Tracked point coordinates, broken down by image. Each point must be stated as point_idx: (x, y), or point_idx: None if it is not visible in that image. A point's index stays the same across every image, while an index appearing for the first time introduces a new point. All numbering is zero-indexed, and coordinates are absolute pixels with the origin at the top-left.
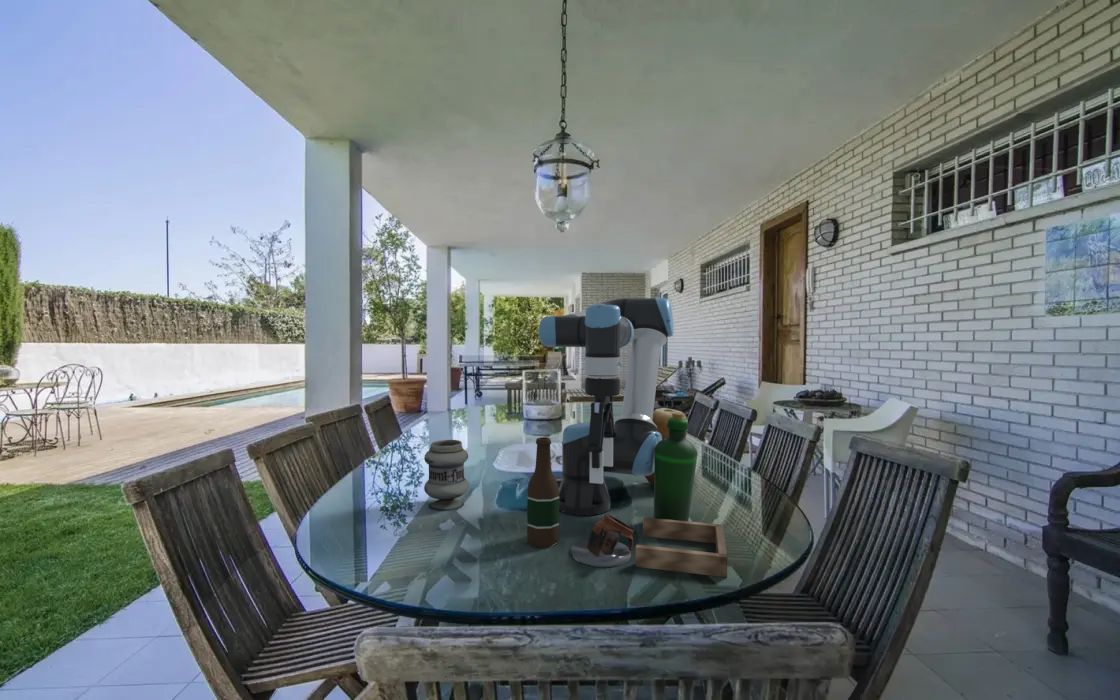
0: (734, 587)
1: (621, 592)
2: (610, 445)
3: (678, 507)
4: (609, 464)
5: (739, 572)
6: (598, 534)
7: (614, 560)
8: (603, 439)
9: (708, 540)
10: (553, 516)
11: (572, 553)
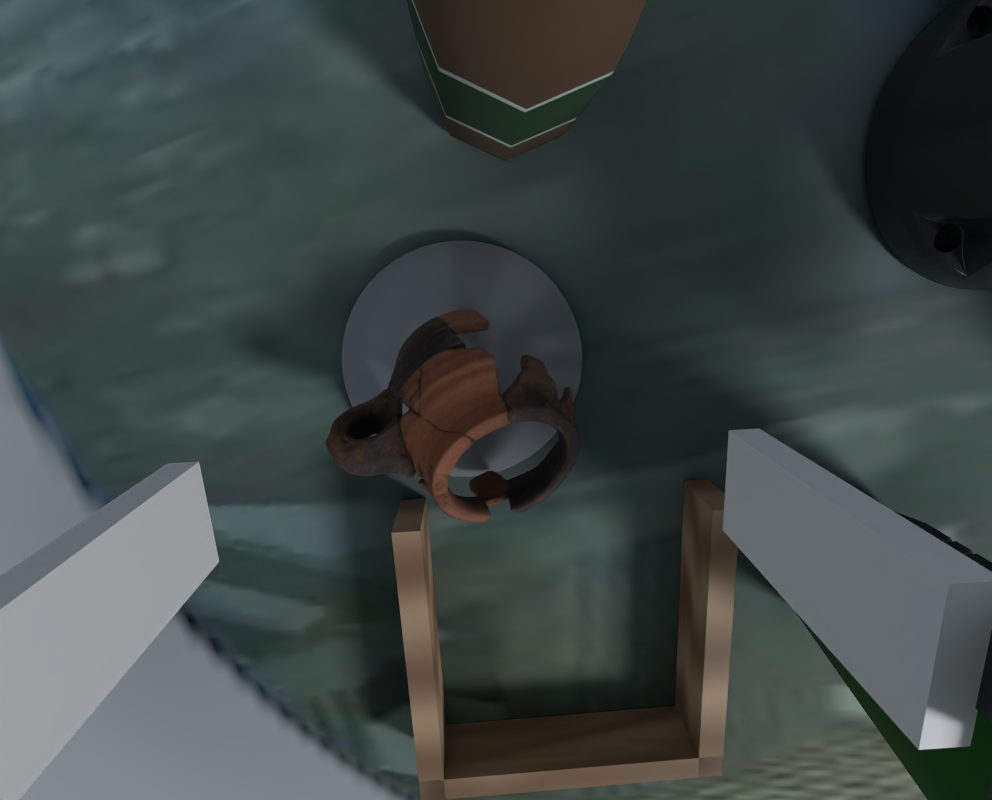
0: (370, 761)
1: None
2: (850, 642)
3: (826, 651)
4: (732, 513)
5: None
6: (402, 386)
7: None
8: (921, 607)
9: (678, 693)
10: (469, 113)
11: (393, 262)
